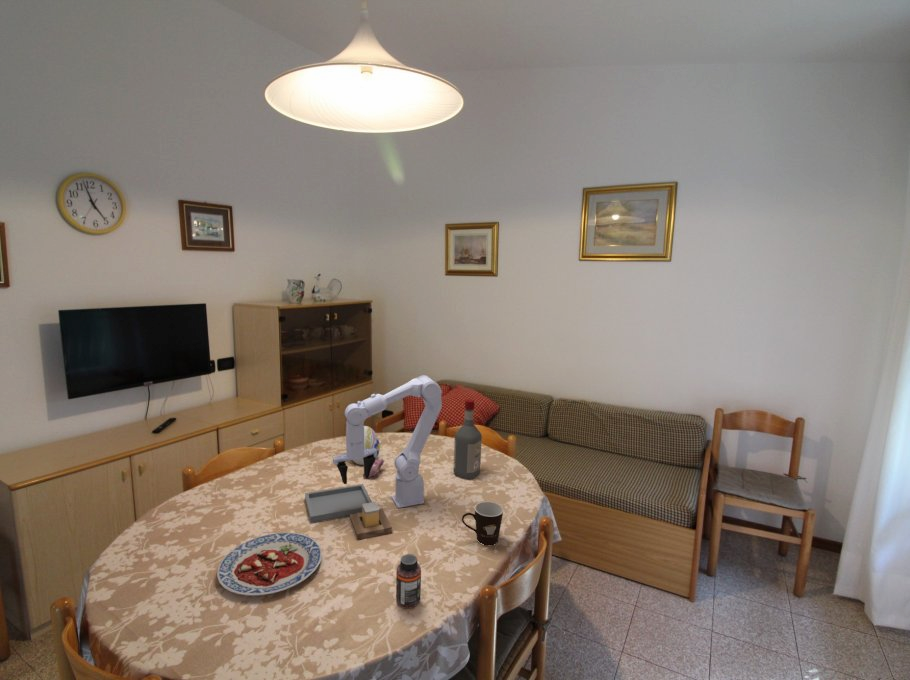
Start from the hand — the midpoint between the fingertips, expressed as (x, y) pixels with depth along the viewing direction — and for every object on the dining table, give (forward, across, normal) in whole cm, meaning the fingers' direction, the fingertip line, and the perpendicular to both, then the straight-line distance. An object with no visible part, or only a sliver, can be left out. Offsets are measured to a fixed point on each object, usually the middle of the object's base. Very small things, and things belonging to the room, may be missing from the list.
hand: (355, 480), depth 151 cm
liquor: (+11, -47, -2) cm, 49 cm away
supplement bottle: (+10, +6, +46) cm, 48 cm away
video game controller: (+11, -16, -21) cm, 28 cm away
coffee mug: (+11, -26, +36) cm, 45 cm away
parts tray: (+10, +4, -5) cm, 12 cm away
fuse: (+10, 0, +12) cm, 16 cm away
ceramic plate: (+10, +31, +16) cm, 36 cm away
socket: (+10, 0, +12) cm, 16 cm away
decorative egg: (+10, -18, -33) cm, 39 cm away
